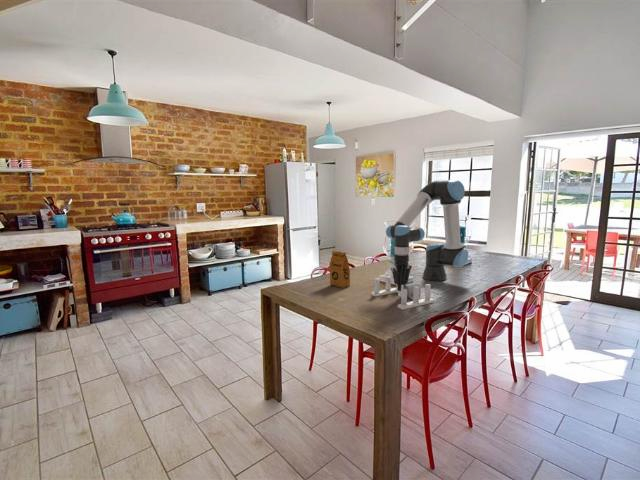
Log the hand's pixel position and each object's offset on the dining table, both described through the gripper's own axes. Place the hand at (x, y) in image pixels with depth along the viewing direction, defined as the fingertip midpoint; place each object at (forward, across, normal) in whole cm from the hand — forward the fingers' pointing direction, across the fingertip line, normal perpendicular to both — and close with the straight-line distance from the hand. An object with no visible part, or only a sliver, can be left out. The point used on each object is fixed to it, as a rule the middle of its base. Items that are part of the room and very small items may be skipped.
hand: (400, 296), depth 180 cm
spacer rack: (+1, 0, 0) cm, 1 cm away
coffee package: (+2, -17, +38) cm, 41 cm away
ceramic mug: (+2, +7, -2) cm, 7 cm away
